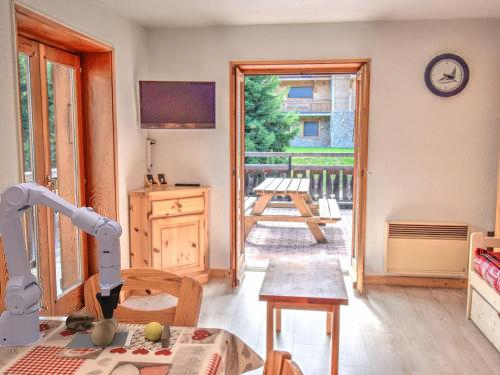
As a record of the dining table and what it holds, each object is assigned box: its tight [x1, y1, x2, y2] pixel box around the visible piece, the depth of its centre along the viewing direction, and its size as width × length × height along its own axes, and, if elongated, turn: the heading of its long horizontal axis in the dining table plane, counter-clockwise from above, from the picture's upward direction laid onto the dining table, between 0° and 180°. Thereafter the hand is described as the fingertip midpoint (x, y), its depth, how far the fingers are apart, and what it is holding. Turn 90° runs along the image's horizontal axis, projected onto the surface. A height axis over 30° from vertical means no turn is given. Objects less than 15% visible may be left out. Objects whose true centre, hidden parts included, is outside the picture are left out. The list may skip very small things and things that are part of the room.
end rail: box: [161, 322, 171, 349], centre depth 128 cm, size 2×12×2 cm, turn 8°
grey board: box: [66, 330, 134, 350], centre depth 125 cm, size 16×10×1 cm, turn 98°
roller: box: [91, 315, 119, 346], centre depth 125 cm, size 6×9×6 cm, turn 8°
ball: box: [144, 321, 163, 342], centre depth 127 cm, size 5×5×5 cm
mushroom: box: [65, 310, 96, 332], centre depth 134 cm, size 8×8×6 cm
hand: (110, 313), depth 125 cm, fingers open, 7 cm apart
